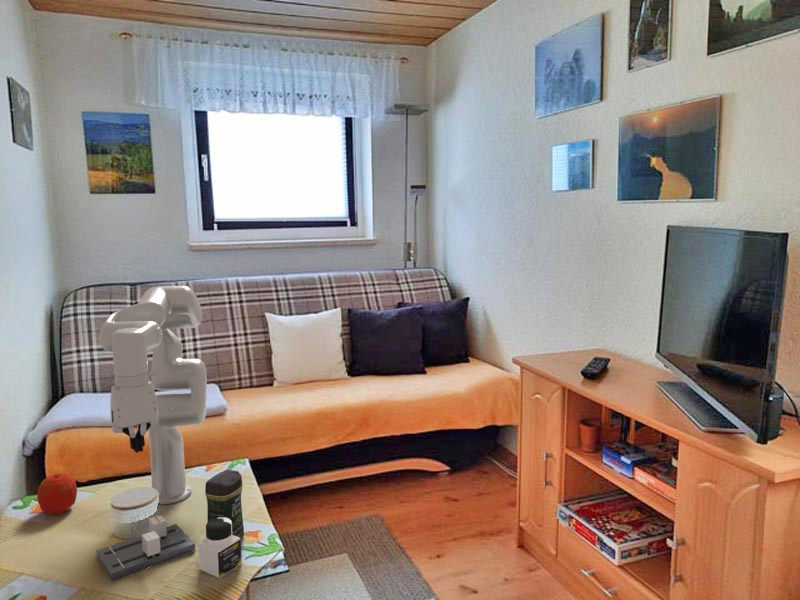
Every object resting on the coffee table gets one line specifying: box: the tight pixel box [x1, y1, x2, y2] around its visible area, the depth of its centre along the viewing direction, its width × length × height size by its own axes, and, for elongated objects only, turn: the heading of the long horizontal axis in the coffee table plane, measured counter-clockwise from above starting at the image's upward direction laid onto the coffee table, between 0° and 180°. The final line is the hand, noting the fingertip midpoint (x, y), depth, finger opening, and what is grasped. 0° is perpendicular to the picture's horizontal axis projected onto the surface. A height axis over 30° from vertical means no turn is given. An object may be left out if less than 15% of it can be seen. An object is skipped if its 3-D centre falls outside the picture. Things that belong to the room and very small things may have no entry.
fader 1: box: [148, 514, 167, 537], centre depth 156 cm, size 4×3×4 cm
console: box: [95, 523, 196, 583], centre depth 151 cm, size 13×20×2 cm, turn 130°
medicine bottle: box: [198, 517, 242, 579], centre depth 145 cm, size 7×7×12 cm
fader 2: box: [141, 531, 160, 557], centre depth 148 cm, size 4×3×4 cm
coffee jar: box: [204, 469, 245, 540], centre depth 156 cm, size 10×8×19 cm
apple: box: [36, 473, 78, 516], centre depth 173 cm, size 10×10×12 cm
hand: (137, 450), depth 148 cm, fingers closed
